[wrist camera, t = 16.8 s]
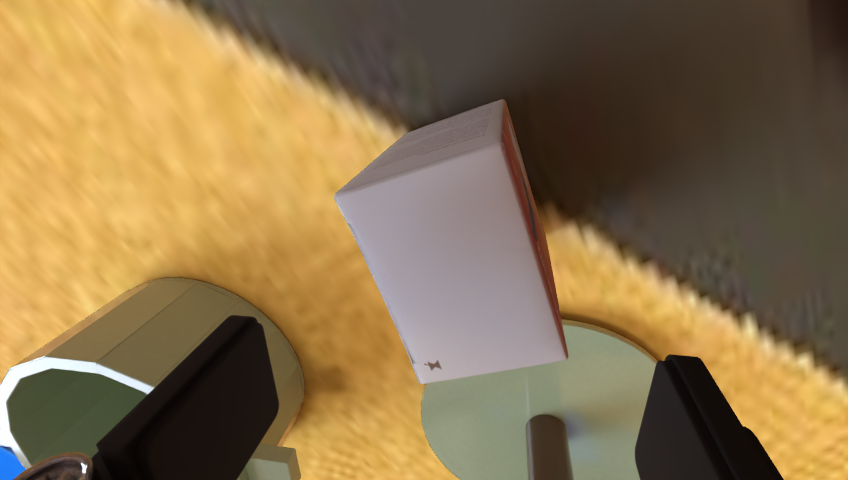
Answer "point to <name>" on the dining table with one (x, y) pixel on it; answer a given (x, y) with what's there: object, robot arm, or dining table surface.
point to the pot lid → (546, 414)
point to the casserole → (136, 373)
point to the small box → (458, 248)
